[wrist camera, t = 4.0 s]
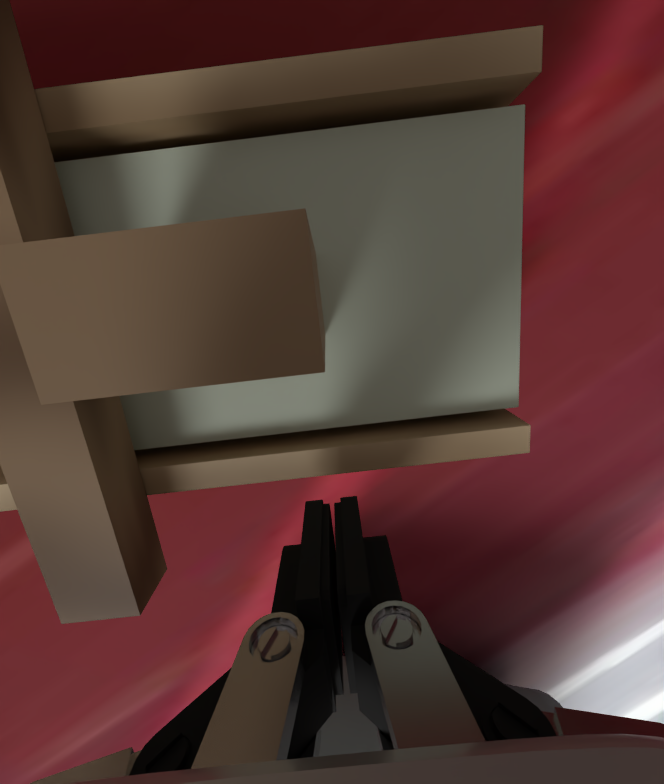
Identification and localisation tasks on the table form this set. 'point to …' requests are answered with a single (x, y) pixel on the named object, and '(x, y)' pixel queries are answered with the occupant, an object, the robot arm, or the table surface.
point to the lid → (284, 280)
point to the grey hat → (360, 735)
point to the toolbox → (283, 116)
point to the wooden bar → (63, 406)
